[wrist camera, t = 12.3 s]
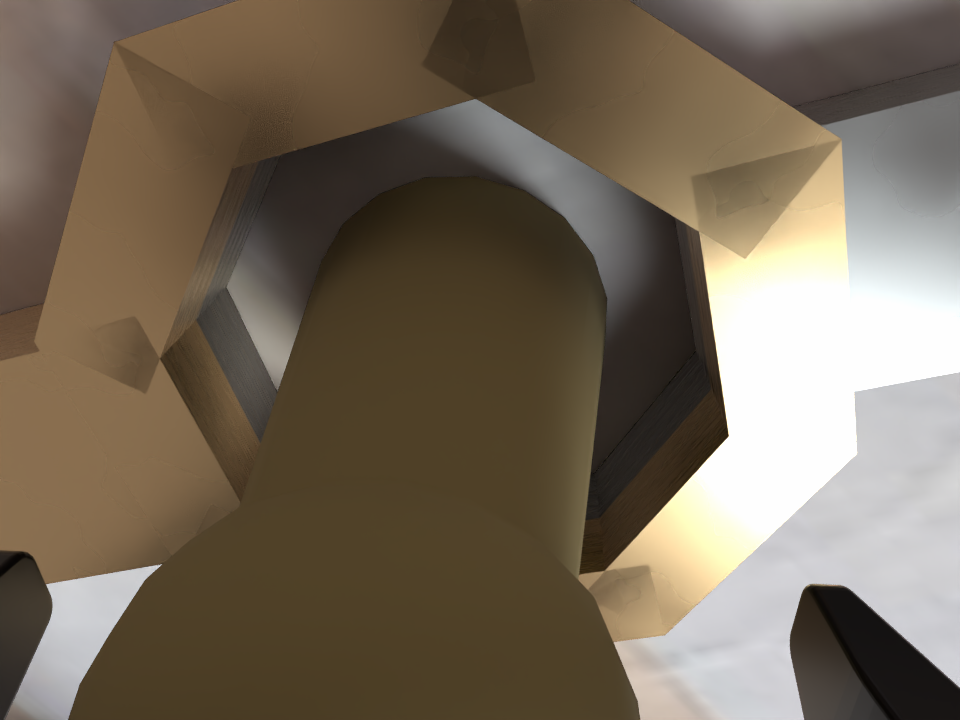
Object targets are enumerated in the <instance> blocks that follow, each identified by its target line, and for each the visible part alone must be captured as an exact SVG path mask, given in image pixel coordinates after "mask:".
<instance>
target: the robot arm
mask: <svg viewBox="0 0 960 720" xmlns="http://www.w3.org/2000/svg"><path fill="white" fill-rule="evenodd" d="M51 613H52V598H51V595H50V593H49V591H48V588H47V586H46V584H45V581H44V579H43V577H42V574H41V572H40V570H39V567H38V565H37V563H36V561H35V559H34V557H33V556H32V555H31V554H29V553H28V552H25V551H7V550H0V720H5V718H6V716H7V714H8V712H9V710H10V707H11V705H12V703H13V701H14V698H15V696H16V694H17V692H18V690H19V687H20V685H21V683H22V681H23V678H24V676H25V674H26V672H27V670H28V667H29V665H30V663H31V661H32V659H33V656H34V654H35V652H36V650H37V647H38V645H39V643H40V641H41V639H42V636H43V634H44V632H45V630H46V627H47V625H48V623H49V620H50V617H51ZM790 653H791V659H792V663H793V668H794V673H795V677H796V682H797V687H798V692H799V696H800V701H801V706H802V711H803V715H804V720H960V687H958V686H957V685H956V684H955V683H954V682H953V681H952V680H951V679H950V678H948V677H947V676H946V675H945V674H944V673H943V672H942V671H941V670H940V669H938V668H937V667H936V666H935V665H934V664H933V663H932V662H931V661H929V660H928V659H927V658H926V657H925V656H924V655H923V654H922V653H921V652H919V651H918V650H917V649H916V648H915V647H914V646H913V645H912V644H911V643H909V642H908V641H907V640H906V639H905V638H904V637H903V636H902V635H901V634H899V633H898V632H897V631H896V630H895V629H894V628H893V627H892V626H890V625H889V624H888V623H887V622H886V621H885V620H884V619H883V618H882V617H880V616H879V615H878V614H877V613H876V612H875V611H874V610H873V609H872V608H870V607H869V606H868V605H867V604H866V603H865V602H864V601H863V600H862V599H860V598H859V597H858V596H857V595H856V594H855V593H854V592H853V591H851V590H850V589H848V588H847V587H845V586H841V585H825V584H810V585H808V586H806V587H805V588H804V590H803V592H802V595H801V598H800V602H799V605H798V609H797V612H796V616H795V619H794V623H793V627H792V630H791V634H790Z"/></svg>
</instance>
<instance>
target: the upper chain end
mask: <svg viewBox="0 0 960 720" xmlns="http://www.w3.org/2000/svg"><path fill="white" fill-rule="evenodd" d="M473 99H477V100H479V101H481V102H482V103H484V104H486V105H487V106H489V107H491V108H492V109H494V110H496V111H497V112H499V113H501V114H502V115H504V116H506V117H507V118H509V119H511V120H512V121H514V122H516V123H518V124H519V125H521V126H523V127H524V128H526V129H528V130H529V131H531V132H533V133H534V134H536V135H538V136H539V137H541V138H543V139H544V140H546V141H548V142H549V143H551V144H553V145H554V146H556V147H558V148H560V149H561V150H563V151H565V152H566V153H568V154H570V155H571V156H573V157H575V158H576V159H578V160H580V161H581V162H583V163H585V164H586V165H588V166H590V167H591V168H593V169H595V170H596V171H598V172H600V173H601V174H603V175H605V176H607V177H608V178H610V179H612V180H613V181H615V182H617V183H618V184H620V185H622V186H623V187H625V188H627V189H628V190H630V191H632V192H633V193H635V194H637V195H638V196H640V197H642V198H643V199H645V200H647V201H648V202H650V203H652V204H654V205H655V206H657V207H659V208H660V209H662V210H664V211H665V212H667V213H669V214H670V215H672V216H674V217H675V218H677V219H679V220H680V221H682V222H684V223H685V225H686V231H687V238H688V244H689V251H690V257H691V263H692V270H693V276H694V283H695V289H696V296H697V302H698V308H699V315H700V321H701V328H702V334H703V340H704V347H705V353H706V360H707V366H708V373H709V379H710V385H711V390H710V391H709V393H708V394H707V395H706V396H705V397H704V398H703V400H702V401H701V402H700V403H699V404H698V405H697V406H696V408H695V409H694V410H693V411H692V412H691V413H690V414H689V416H688V417H687V418H686V419H685V420H684V421H683V423H682V424H681V425H680V426H679V427H678V428H677V429H676V431H675V432H674V433H673V434H672V435H671V436H670V437H669V439H668V440H667V441H666V442H665V443H664V444H663V446H662V447H661V448H660V449H659V450H658V451H657V452H656V454H655V455H654V456H653V457H652V458H651V459H650V460H649V462H648V463H647V464H646V465H645V466H644V467H643V469H642V470H641V471H640V472H639V473H638V474H637V475H636V477H635V478H634V479H633V480H632V481H631V482H630V483H629V485H628V486H627V487H626V488H625V489H624V490H623V492H622V493H621V494H620V495H619V496H618V497H617V498H616V500H615V501H614V502H613V503H612V504H611V505H610V506H609V508H608V509H607V510H606V511H605V512H604V513H603V515H602V516H601V517H600V518H596V519H590V520H585V526H584V535H583V544H582V553H581V562H580V571H579V579H578V580H579V581H580V582H581V583H582V584H583V586H584V587H585V588H586V589H587V590H588V591H589V592H590V593H591V594H592V595H593V596H594V598H595V600H596V602H597V605H598V607H599V610H600V612H601V614H602V617H603V619H604V621H605V624H606V626H607V629H608V631H609V633H610V636H611V638H612V640H613V642H617V641H624V640H632V639H640V638H647V637H655V636H663V635H666V634H667V633H668V632H669V631H670V630H671V629H672V628H673V627H674V626H675V625H676V624H677V623H678V622H679V621H680V620H681V619H682V618H684V617H685V616H686V615H687V614H688V613H689V612H690V611H691V610H692V609H693V608H694V607H695V606H696V605H697V604H698V603H699V602H700V601H701V600H703V599H704V598H705V597H706V596H707V595H708V594H709V593H710V592H711V591H712V590H713V589H714V588H715V587H716V586H717V585H718V584H719V583H720V582H722V581H723V580H724V579H725V578H726V577H727V576H728V575H729V574H730V573H731V572H732V571H733V570H734V569H735V568H736V567H737V566H738V565H739V564H741V563H742V562H743V561H744V560H745V559H746V558H747V557H748V556H749V555H750V554H751V553H752V552H753V551H754V550H755V549H756V548H757V547H758V546H760V545H761V544H762V543H763V542H764V541H765V540H766V539H767V538H768V537H769V536H770V535H771V534H772V533H773V532H774V531H775V530H776V529H777V528H779V527H780V526H781V525H782V524H783V523H784V522H785V521H786V520H787V519H788V518H789V517H790V516H791V515H792V514H793V513H794V512H795V511H796V510H798V509H799V508H800V507H801V506H802V505H803V504H804V503H805V502H806V501H807V500H808V499H809V498H810V497H811V496H812V495H813V494H814V493H815V492H817V491H818V490H819V489H820V488H821V487H822V486H823V485H824V484H825V483H826V482H827V481H828V480H829V479H830V478H831V477H832V476H833V475H834V474H836V473H837V472H838V471H839V470H840V469H841V468H842V467H843V466H844V465H845V464H846V463H847V462H848V461H849V460H850V459H851V458H852V457H853V456H855V455H856V454H857V452H856V431H855V410H854V389H853V368H852V347H851V327H850V306H849V285H848V264H847V243H846V223H845V202H844V181H843V160H842V139H841V138H839V137H838V136H836V135H835V134H833V133H831V132H830V131H828V130H827V129H825V128H823V127H822V126H820V125H819V124H817V123H816V122H814V121H813V120H811V119H810V118H808V117H807V116H805V115H803V114H802V113H800V112H799V111H797V110H796V109H794V108H793V107H791V106H790V105H788V104H787V103H785V102H784V101H782V100H780V99H779V98H777V97H776V96H774V95H773V94H771V93H770V92H768V91H767V90H765V89H764V88H762V87H761V86H759V85H758V84H756V83H754V82H753V81H751V80H750V79H748V78H747V77H745V76H744V75H742V74H741V73H739V72H738V71H736V70H735V69H733V68H732V67H730V66H728V65H727V64H725V63H724V62H722V61H721V60H719V59H718V58H716V57H715V56H713V55H712V54H710V53H709V52H707V51H705V50H704V49H702V48H701V47H699V46H698V45H696V44H695V43H693V42H692V41H690V40H689V39H687V38H686V37H684V36H683V35H681V34H679V33H678V32H676V31H675V30H673V29H672V28H670V27H669V26H667V25H666V24H664V23H663V22H661V21H660V20H658V19H656V18H655V17H653V16H652V15H650V14H649V13H647V12H646V11H644V10H643V9H641V8H640V7H638V6H637V5H635V4H634V3H632V2H630V1H629V0H238V1H235V2H232V3H229V4H226V5H223V6H220V7H217V8H214V9H211V10H208V11H205V12H202V13H199V14H196V15H193V16H190V17H187V18H184V19H181V20H178V21H175V22H172V23H170V24H167V25H164V26H161V27H158V28H155V29H152V30H149V31H146V32H143V33H140V34H137V35H134V36H131V37H128V38H125V39H122V40H119V41H115V42H114V44H113V48H112V52H111V55H110V59H109V63H108V67H107V70H106V74H105V78H104V82H103V85H102V89H101V93H100V97H99V100H98V104H97V108H96V112H95V115H94V119H93V123H92V126H91V130H90V134H89V138H88V141H87V145H86V149H85V153H84V156H83V160H82V164H81V168H80V171H79V175H78V179H77V183H76V186H75V190H74V194H73V198H72V201H71V205H70V209H69V213H68V216H67V220H66V224H65V228H64V231H63V235H62V239H61V242H60V246H59V250H58V254H57V257H56V261H55V265H54V269H53V272H52V276H51V280H50V284H49V287H48V291H47V295H46V299H45V302H44V304H40V305H36V306H32V307H29V308H25V309H21V310H17V311H13V312H9V313H6V314H2V315H0V550H7V551H25V552H28V553H29V554H31V555H32V556H33V557H34V559H35V561H36V563H37V565H38V567H39V570H40V572H41V574H42V577H43V579H44V581H45V584H49V583H55V582H61V581H67V580H73V579H78V578H84V577H90V576H96V575H102V574H107V573H113V572H119V571H125V570H131V569H136V568H142V567H148V566H154V565H160V564H163V563H165V562H166V561H167V560H168V559H169V558H170V557H171V556H172V555H174V554H175V553H176V552H177V551H178V550H179V549H180V548H181V547H182V546H184V545H185V544H186V543H187V542H188V541H190V540H191V539H192V538H194V537H195V536H197V535H198V534H200V533H201V532H203V531H204V530H206V529H207V528H209V527H210V526H212V525H213V524H215V523H216V522H218V521H219V520H221V519H222V518H224V517H225V516H227V515H228V514H230V513H231V512H233V511H234V510H236V509H237V508H239V506H240V503H241V501H242V498H243V495H244V492H245V489H246V486H247V483H248V480H249V477H250V474H251V471H252V468H253V465H254V462H255V459H256V456H257V453H258V450H259V447H260V442H259V440H258V438H257V436H256V434H255V432H254V430H253V428H252V427H251V425H250V423H249V421H248V419H247V417H246V415H245V413H244V411H243V409H242V407H241V405H240V403H239V401H238V400H237V398H236V396H235V394H234V392H233V390H232V388H231V386H230V384H229V382H228V380H227V378H226V376H225V374H224V373H223V371H222V369H221V367H220V365H219V363H218V361H217V359H216V357H215V355H214V353H213V351H212V349H211V347H210V346H209V344H208V342H207V340H206V338H205V336H204V334H203V332H202V330H201V328H200V326H199V324H198V322H197V320H196V319H197V316H198V314H199V311H200V309H201V306H202V304H203V301H204V299H205V296H206V294H207V291H208V288H209V286H210V283H211V281H212V278H213V276H214V273H215V271H216V268H217V266H218V263H219V261H220V258H221V256H222V253H223V251H224V248H225V246H226V243H227V240H228V238H229V235H230V233H231V230H232V228H233V225H234V223H235V220H236V218H237V215H238V213H239V210H240V208H241V205H242V203H243V200H244V198H245V195H246V192H247V190H248V187H249V185H250V182H251V180H252V177H253V175H254V172H255V170H256V167H257V165H258V162H259V161H261V160H264V159H268V158H271V157H275V156H278V155H282V154H285V153H289V152H292V151H295V150H299V149H302V148H306V147H309V146H313V145H316V144H320V143H323V142H327V141H330V140H334V139H337V138H341V137H344V136H348V135H351V134H355V133H358V132H362V131H365V130H368V129H372V128H375V127H379V126H382V125H386V124H389V123H393V122H396V121H400V120H403V119H407V118H410V117H414V116H417V115H421V114H424V113H428V112H431V111H435V110H438V109H441V108H445V107H448V106H452V105H455V104H459V103H462V102H466V101H469V100H473Z"/></svg>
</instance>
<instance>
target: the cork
mask: <svg viewBox="0 0 960 720" xmlns="http://www.w3.org/2000/svg"><path fill="white" fill-rule="evenodd" d="M606 312H607V297H606V294H605V290H604V287H603V284H602V281H601V278H600V275H599V272H598V268H597V265H596V262H595V259H594V256H593V255H592V253H591V252H590V251H589V249H588V248H587V247H586V245H585V244H584V243H583V242H582V240H581V239H580V238H579V236H578V235H577V234H576V232H575V231H574V230H573V228H572V227H571V226H570V224H569V223H568V222H567V220H566V219H565V218H564V217H562V216H561V215H559V214H558V213H556V212H555V211H553V210H552V209H550V208H549V207H547V206H546V205H545V204H543V203H542V202H540V201H539V200H537V199H536V198H534V197H533V196H531V195H530V194H528V193H527V192H525V191H524V190H520V189H517V188H514V187H510V186H507V185H503V184H500V183H497V182H493V181H490V180H486V179H483V178H480V177H476V176H467V177H429V178H422V179H420V180H417V181H414V182H411V183H409V184H406V185H403V186H400V187H398V188H395V189H392V190H389V191H387V192H384V193H381V194H379V195H378V196H376V197H375V198H374V199H373V200H372V201H370V202H369V203H368V204H367V205H365V206H364V207H363V208H362V209H361V210H359V211H358V212H357V213H356V214H354V215H353V216H352V217H351V218H350V219H348V220H347V221H346V222H345V223H344V224H343V225H342V227H341V229H340V230H339V232H338V234H337V235H336V237H335V239H334V241H333V242H332V244H331V246H330V247H329V249H328V251H327V253H326V254H325V256H324V258H323V259H322V261H321V264H320V267H319V270H318V273H317V276H316V279H315V282H314V285H313V288H312V291H311V294H310V297H309V300H308V303H307V306H306V309H305V312H304V315H303V318H302V321H301V324H300V327H299V330H298V333H297V336H296V339H295V342H294V345H293V348H292V351H291V354H290V357H289V360H288V363H287V366H286V369H285V372H284V375H283V378H282V381H281V384H280V387H279V390H278V393H277V396H276V399H275V402H274V405H273V408H272V411H271V414H270V417H269V420H268V423H267V426H266V429H265V432H264V435H263V438H262V441H261V444H260V447H259V450H258V453H257V456H256V459H255V462H254V465H253V468H252V471H251V474H250V477H249V480H248V483H247V486H246V489H245V492H244V495H243V498H242V501H241V503H240V506H239V508H237V509H236V510H234V511H233V512H231V513H230V514H228V515H227V516H225V517H224V518H222V519H221V520H219V521H218V522H216V523H215V524H213V525H212V526H210V527H209V528H207V529H206V530H204V531H203V532H201V533H200V534H198V535H197V536H195V537H194V538H192V539H191V540H190V541H188V542H187V543H186V544H185V545H184V546H182V547H181V548H180V549H179V550H178V551H177V552H176V553H175V554H174V555H172V556H171V557H170V558H169V559H168V560H167V561H166V562H165V563H163V564H162V565H161V566H160V567H159V568H158V569H157V570H156V571H155V572H153V573H152V574H151V575H150V576H149V577H148V578H147V579H146V580H145V581H144V583H143V584H142V586H141V587H140V589H139V590H138V592H137V593H136V595H135V596H134V598H133V599H132V601H131V602H130V604H129V605H128V607H127V608H126V610H125V611H124V613H123V615H122V616H121V618H120V619H119V621H118V622H117V624H116V625H115V627H114V628H113V630H112V631H111V633H110V634H109V636H108V638H107V639H106V641H105V643H104V644H103V646H102V648H101V650H100V651H99V653H98V655H97V656H96V658H95V660H94V661H93V663H92V665H91V666H90V668H89V670H88V671H87V673H86V675H85V676H84V678H83V680H82V681H81V683H80V685H79V688H78V691H77V694H76V697H75V701H74V704H73V707H72V710H71V713H70V716H69V719H68V720H640V715H639V708H638V701H637V699H636V696H635V694H634V691H633V689H632V686H631V684H630V682H629V679H628V677H627V674H626V672H625V669H624V667H623V665H622V662H621V660H620V657H619V655H618V652H617V650H616V648H615V645H614V643H613V640H612V638H611V636H610V633H609V631H608V629H607V626H606V624H605V621H604V619H603V617H602V614H601V612H600V610H599V607H598V605H597V602H596V600H595V598H594V596H593V595H592V594H591V593H590V592H589V591H588V590H587V589H586V588H585V587H584V586H583V584H582V583H581V582H580V581H579V580H578V579H579V571H580V562H581V553H582V544H583V535H584V526H585V517H586V508H587V499H588V490H589V481H590V473H591V464H592V455H593V446H594V437H595V428H596V419H597V410H598V401H599V392H600V383H601V374H602V366H603V357H604V348H605V336H606Z"/></svg>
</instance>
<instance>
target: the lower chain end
mask: <svg viewBox="0 0 960 720" xmlns="http://www.w3.org/2000/svg"><path fill="white" fill-rule="evenodd" d="M793 108H794V109H796V110H797V111H799V112H800V113H802V114H803V115H805V116H807V117H808V118H810V119H811V120H813V121H814V122H816V123H817V124H819V125H820V126H822V127H823V128H825V129H827V130H828V131H830V132H831V133H833V134H835V135H836V136H838V137H839V138H841V139H842V160H843V181H844V202H845V223H846V243H847V264H848V285H849V306H850V327H851V347H852V368H853V389H854V391H859V390H864V389H870V388H875V387H881V386H886V385H891V384H897V383H902V382H907V381H913V380H918V379H924V378H929V377H934V376H940V375H945V374H950V373H956V372H960V64H956V65H953V66H949V67H945V68H941V69H937V70H933V71H930V72H926V73H922V74H918V75H914V76H911V77H907V78H903V79H899V80H895V81H891V82H888V83H884V84H880V85H876V86H872V87H869V88H865V89H861V90H857V91H853V92H849V93H846V94H842V95H838V96H834V97H830V98H827V99H823V100H819V101H815V102H811V103H807V104H804V105H800V106H796V107H793ZM279 157H280V155H278V156H275V157H271V158H268V159H264V160H261V161H259V162H258V165H257V167H256V170H255V172H254V175H253V177H252V180H251V182H250V185H249V187H248V190H247V192H246V195H245V198H244V200H243V203H242V205H241V208H240V210H239V213H238V215H237V218H236V220H235V223H234V225H233V228H232V230H231V233H230V235H229V238H228V240H227V243H226V246H225V248H224V251H223V253H222V256H221V258H220V261H219V263H218V266H217V268H216V271H215V273H214V276H213V278H212V281H211V283H210V286H209V288H208V291H207V294H206V296H205V299H204V301H203V304H202V306H201V309H200V311H199V314H198V316H197V319H196V320H197V322H198V324H199V326H200V328H201V330H202V332H203V334H204V336H205V338H206V340H207V342H208V344H209V346H210V347H211V349H212V351H213V353H214V355H215V357H216V359H217V361H218V363H219V365H220V367H221V369H222V371H223V373H224V374H225V376H226V378H227V380H228V382H229V384H230V386H231V388H232V390H233V392H234V394H235V396H236V398H237V400H238V401H239V403H240V405H241V407H242V409H243V411H244V413H245V415H246V417H247V419H248V421H249V423H250V425H251V427H252V428H253V430H254V432H255V434H256V436H257V438H258V440H259V442H260V444H261V441H262V438H263V435H264V432H265V429H266V426H267V423H268V420H269V417H270V414H271V411H272V408H273V405H274V402H275V399H276V396H277V391H276V389H275V387H274V385H273V383H272V381H271V379H270V377H269V375H268V373H267V371H266V369H265V367H264V365H263V362H262V360H261V358H260V356H259V354H258V352H257V350H256V348H255V346H254V344H253V342H252V340H251V338H250V336H249V334H248V332H247V329H246V327H245V325H244V323H243V321H242V319H241V317H240V315H239V313H238V311H237V309H236V307H235V305H234V303H233V301H232V299H231V297H230V294H229V292H228V290H227V288H226V287H227V284H228V282H229V279H230V277H231V274H232V272H233V269H234V267H235V265H236V262H237V260H238V257H239V255H240V252H241V250H242V247H243V245H244V243H245V240H246V238H247V235H248V233H249V230H250V228H251V226H252V223H253V221H254V218H255V216H256V213H257V211H258V208H259V206H260V204H261V201H262V199H263V196H264V194H265V191H266V189H267V186H268V184H269V182H270V179H271V177H272V174H273V172H274V169H275V167H276V164H277V162H278V160H279ZM674 218H675V217H674ZM675 224H676V230H677V236H678V242H679V248H680V255H681V261H682V267H683V273H684V279H685V285H686V292H687V298H688V304H689V310H690V316H691V322H692V328H693V335H694V341H695V347H696V352H695V353H694V354H693V356H692V357H691V358H690V359H689V360H688V362H687V363H686V364H685V365H684V366H683V368H682V369H681V370H680V371H679V372H678V374H677V375H676V376H675V377H674V378H673V380H672V381H671V382H670V383H669V384H668V386H667V387H666V388H665V389H664V391H663V392H662V393H661V394H660V395H659V397H658V398H657V399H656V400H655V401H654V403H653V404H652V405H651V406H650V407H649V409H648V410H647V411H646V412H645V413H644V415H643V416H642V417H641V418H640V419H639V421H638V422H637V423H636V424H635V426H634V427H633V428H632V429H631V430H630V432H629V433H628V434H627V435H626V436H625V438H624V439H623V440H622V441H621V442H620V444H619V445H618V446H617V447H616V448H615V450H614V451H613V452H612V453H611V454H610V456H609V457H608V458H607V459H606V461H605V462H604V463H603V464H602V465H601V467H600V468H599V469H598V470H597V471H596V473H594V474H590V481H589V490H588V499H587V508H586V517H585V520H590V519H596V518H600V517H601V516H602V515H603V513H604V512H605V511H606V510H607V509H608V508H609V506H610V505H611V504H612V503H613V502H614V501H615V500H616V498H617V497H618V496H619V495H620V494H621V493H622V492H623V490H624V489H625V488H626V487H627V486H628V485H629V483H630V482H631V481H632V480H633V479H634V478H635V477H636V475H637V474H638V473H639V472H640V471H641V470H642V469H643V467H644V466H645V465H646V464H647V463H648V462H649V460H650V459H651V458H652V457H653V456H654V455H655V454H656V452H657V451H658V450H659V449H660V448H661V447H662V446H663V444H664V443H665V442H666V441H667V440H668V439H669V437H670V436H671V435H672V434H673V433H674V432H675V431H676V429H677V428H678V427H679V426H680V425H681V424H682V423H683V421H684V420H685V419H686V418H687V417H688V416H689V414H690V413H691V412H692V411H693V410H694V409H695V408H696V406H697V405H698V404H699V403H700V402H701V401H702V400H703V398H704V397H705V396H706V395H707V394H708V393H709V391H710V390H711V385H710V379H709V373H708V366H707V360H706V353H705V347H704V340H703V334H702V328H701V321H700V315H699V308H698V302H697V296H696V289H695V283H694V276H693V270H692V263H691V257H690V251H689V244H688V238H687V231H686V225H685V223H684V222H682V221H680V220H679V219H677V218H675Z"/></svg>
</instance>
